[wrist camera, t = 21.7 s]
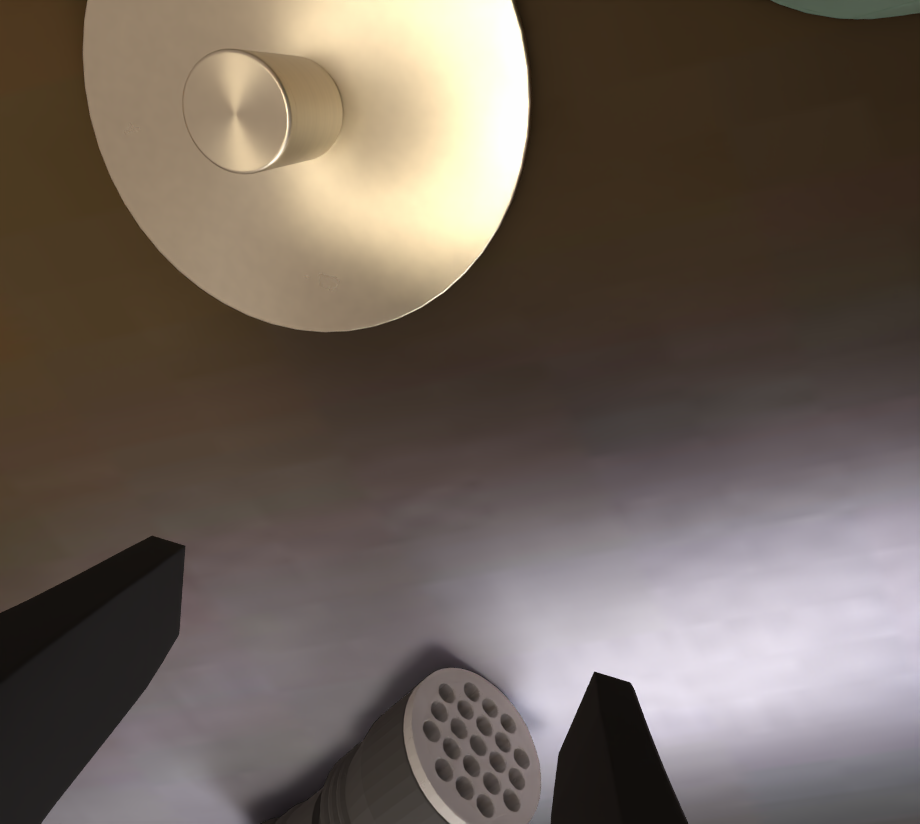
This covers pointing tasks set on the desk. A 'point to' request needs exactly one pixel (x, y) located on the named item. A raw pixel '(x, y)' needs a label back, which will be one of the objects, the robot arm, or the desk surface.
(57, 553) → the desk surface
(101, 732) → the robot arm
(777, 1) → the canister
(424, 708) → the flashlight
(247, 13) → the canister lid
